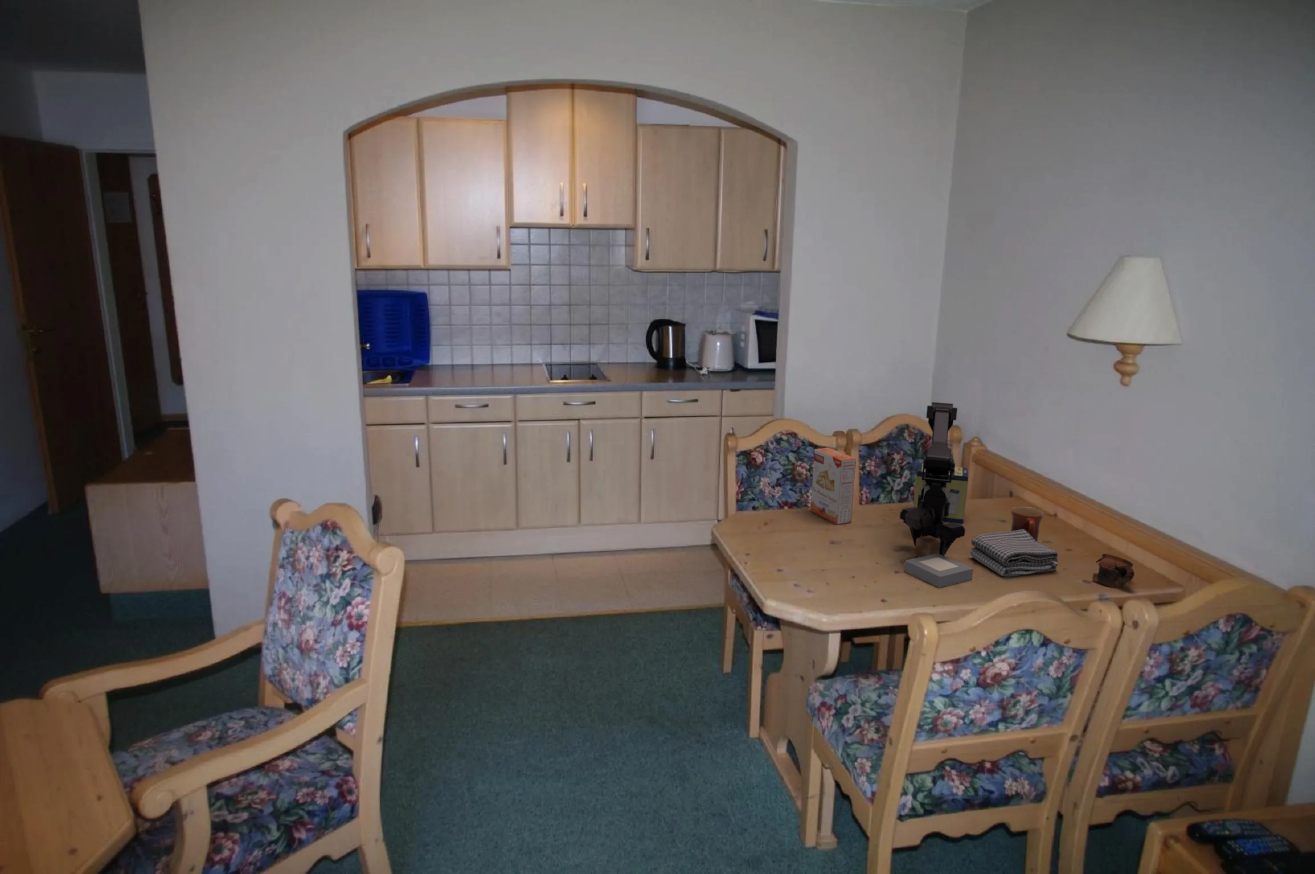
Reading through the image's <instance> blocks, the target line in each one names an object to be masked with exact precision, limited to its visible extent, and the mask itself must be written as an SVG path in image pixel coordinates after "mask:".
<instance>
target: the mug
mask: <svg viewBox="0 0 1315 874" xmlns="http://www.w3.org/2000/svg"><path fill="white" fill-rule="evenodd" d="M1010 513H1011V518H1012V522H1011V529H1010V531H1016V530H1022V529H1024V530H1026V531H1027V532H1028V533H1029V534H1030V535H1031V536H1032V538H1033V539H1034V540H1035V541H1036V542H1038V541H1039V533H1040V525H1041V521H1042V519H1043V517H1044V516H1045V513H1044V512H1043V511H1042V510H1041V509H1037V508H1034V507H1031V506H1030V507H1028V506H1013V507H1012V508H1011V509H1010Z"/></svg>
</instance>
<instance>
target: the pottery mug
mask: <svg viewBox="0 0 1315 874" xmlns="http://www.w3.org/2000/svg"><path fill="white" fill-rule="evenodd" d="M1101 556H1102V557H1100V558H1099V559H1097V560H1096V561H1095V563H1096V564H1097V563H1098V564H1097V565H1098V566H1099V567H1098V572H1093V574H1092V580H1091V581H1092V582H1095V583H1099V584H1101V585H1105V586H1106V587H1110V588H1115V584H1116V583H1117V584H1118V585H1119V586H1120V587H1123V586H1126V584H1128V583H1130V582H1131V581H1132V580H1133V579H1134V577H1135V571H1134V569H1133V567H1134V563H1132V562H1131V561H1129V560H1127V559H1126V558H1123V557H1120V556H1118V555H1113V554H1108V553H1103V554H1101Z"/></svg>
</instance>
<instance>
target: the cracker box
mask: <svg viewBox="0 0 1315 874" xmlns="http://www.w3.org/2000/svg"><path fill="white" fill-rule="evenodd" d="M856 465H857V458H856V457H853V456H851V455H848V454H846V453H844V452H841V451H838V450H835V449H834V448H831V447H820V448H815V449H814V454H813V471H812V473H813V474H812V487H811V502H810V512H812V513H814V514H816V515H818V516H820V517H822V518H823V519H824V520H827V521H829V522H830V523H833V524H835V525H838V524H839V525H844V524H849V523H852V518H853V516H852V515H853V506H854V505H853V503H854V502H853V501H854V490H855V479H856Z"/></svg>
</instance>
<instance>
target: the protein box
mask: <svg viewBox="0 0 1315 874" xmlns="http://www.w3.org/2000/svg"><path fill="white" fill-rule="evenodd" d="M922 470H923V462H921V463H920V462H918V463H917V466H916V474H915V481H914V482H915V483H914V492H913V493H914V494H913V505H912V506H913V507H916V508H917V504H918V495H921V490H922V488H923V487H924V485H925V480H922ZM926 474H927V473H926V472H925V470H924V476H926ZM943 476H948V478H949V476H950V472H949V475H943ZM968 483H969V473H968V467H962V466H955V472H954V479H952V481H951V483H947V487H946V497H947V498H948V501H949V502H950V507H949V515H948V516H947V517H946V521H943V523H952V522H954V523H957V524H959V525H962V524H964V521H965V520H964V519H965V512H966V502H967V495H968V485H969V484H968Z"/></svg>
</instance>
